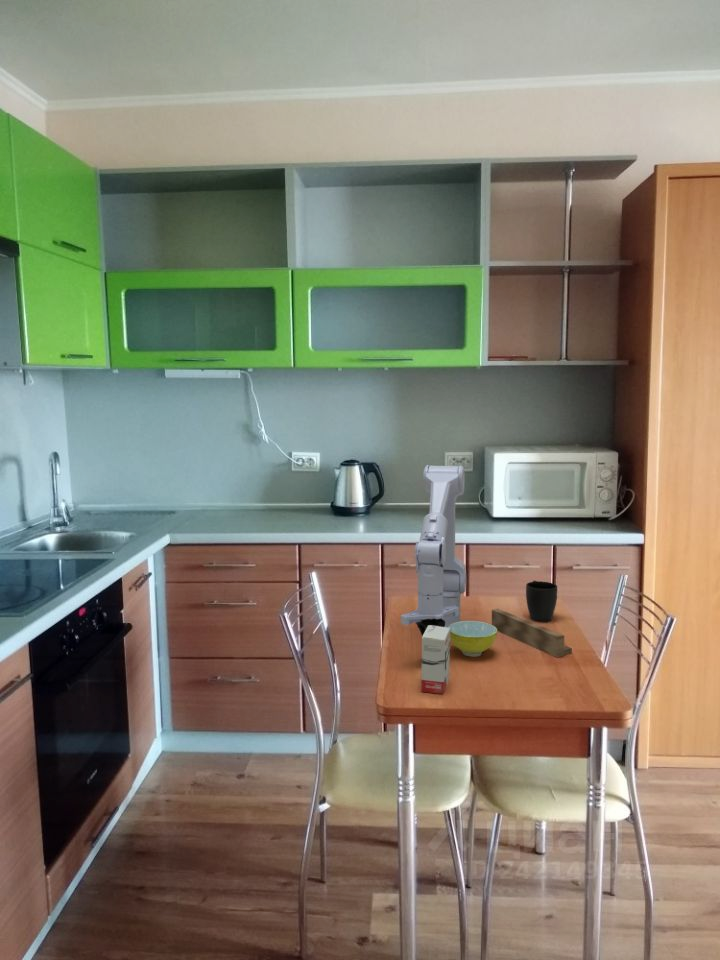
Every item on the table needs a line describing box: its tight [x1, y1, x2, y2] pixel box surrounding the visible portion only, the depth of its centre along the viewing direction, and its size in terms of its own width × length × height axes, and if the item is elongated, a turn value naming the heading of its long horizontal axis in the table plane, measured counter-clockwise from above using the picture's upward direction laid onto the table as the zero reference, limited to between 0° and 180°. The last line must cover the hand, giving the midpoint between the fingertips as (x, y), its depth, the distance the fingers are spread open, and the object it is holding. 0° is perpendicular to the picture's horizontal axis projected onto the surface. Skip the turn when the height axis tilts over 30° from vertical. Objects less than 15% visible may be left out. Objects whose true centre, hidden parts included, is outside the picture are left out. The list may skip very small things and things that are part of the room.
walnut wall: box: [491, 608, 573, 659], centre depth 173 cm, size 24×5×5 cm, turn 28°
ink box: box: [420, 625, 451, 695], centre depth 146 cm, size 8×5×12 cm, turn 165°
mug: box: [525, 580, 558, 623], centre depth 191 cm, size 8×12×10 cm
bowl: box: [448, 620, 498, 658], centre depth 165 cm, size 11×12×6 cm
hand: (430, 650), depth 159 cm, fingers closed
